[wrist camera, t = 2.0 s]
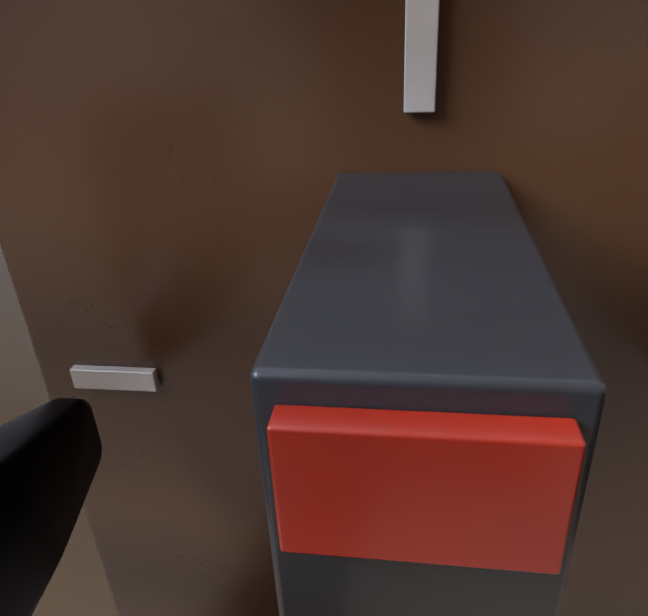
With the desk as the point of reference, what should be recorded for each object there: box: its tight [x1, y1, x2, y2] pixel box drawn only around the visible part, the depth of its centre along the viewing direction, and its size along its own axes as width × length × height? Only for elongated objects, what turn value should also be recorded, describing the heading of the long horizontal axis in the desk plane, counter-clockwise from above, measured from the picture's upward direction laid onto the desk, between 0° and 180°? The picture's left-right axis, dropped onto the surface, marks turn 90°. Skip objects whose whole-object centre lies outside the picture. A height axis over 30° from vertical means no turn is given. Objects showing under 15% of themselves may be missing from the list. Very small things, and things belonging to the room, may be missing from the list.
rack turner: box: [250, 172, 607, 616], centre depth 7 cm, size 6×2×5 cm, turn 2°
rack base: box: [0, 0, 648, 616], centre depth 10 cm, size 14×12×3 cm
